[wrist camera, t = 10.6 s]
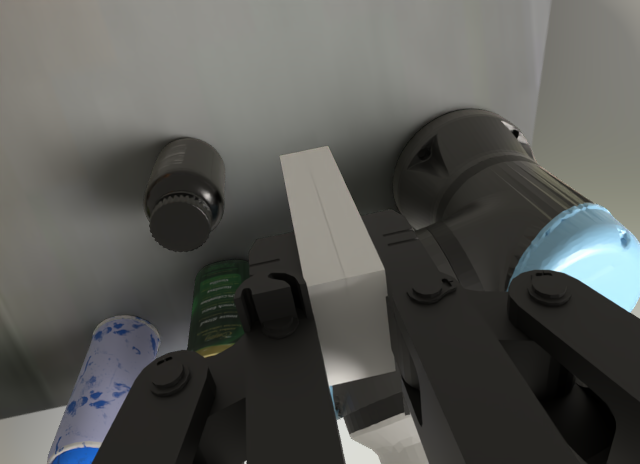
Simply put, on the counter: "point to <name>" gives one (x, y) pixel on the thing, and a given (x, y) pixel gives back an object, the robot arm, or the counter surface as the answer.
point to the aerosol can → (103, 386)
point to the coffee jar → (216, 308)
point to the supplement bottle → (185, 194)
